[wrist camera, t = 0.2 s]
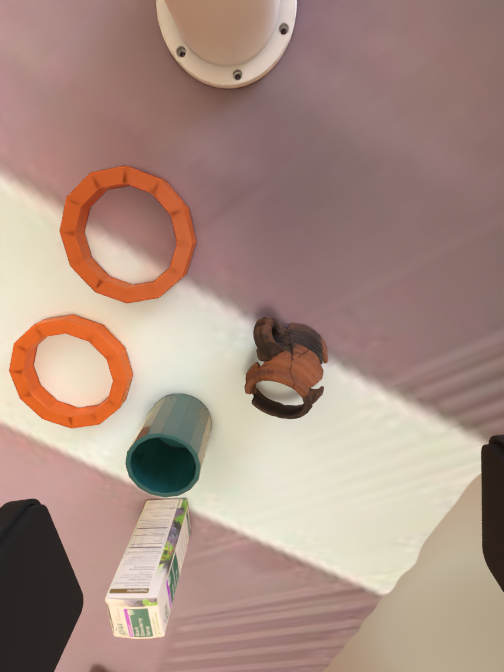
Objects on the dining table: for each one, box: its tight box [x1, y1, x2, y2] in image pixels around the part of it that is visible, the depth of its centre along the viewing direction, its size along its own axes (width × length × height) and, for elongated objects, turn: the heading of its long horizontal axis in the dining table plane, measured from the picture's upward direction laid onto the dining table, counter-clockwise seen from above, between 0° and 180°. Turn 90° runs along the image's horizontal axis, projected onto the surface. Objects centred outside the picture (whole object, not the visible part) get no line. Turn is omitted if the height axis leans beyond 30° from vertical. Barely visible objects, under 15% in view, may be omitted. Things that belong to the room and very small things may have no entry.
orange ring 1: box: [60, 166, 196, 303], centre depth 41 cm, size 13×13×2 cm
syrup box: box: [105, 499, 191, 639], centre depth 47 cm, size 6×6×14 cm
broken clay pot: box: [245, 316, 328, 419], centre depth 43 cm, size 12×10×8 cm
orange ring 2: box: [9, 315, 133, 428], centre depth 46 cm, size 13×13×2 cm
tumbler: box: [126, 394, 212, 497], centre depth 45 cm, size 8×8×9 cm
